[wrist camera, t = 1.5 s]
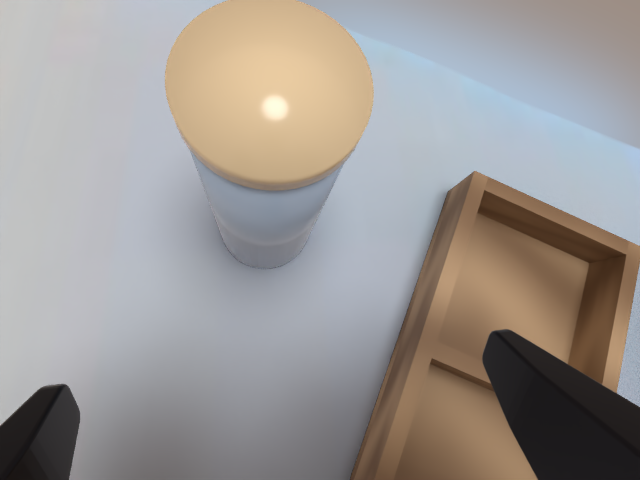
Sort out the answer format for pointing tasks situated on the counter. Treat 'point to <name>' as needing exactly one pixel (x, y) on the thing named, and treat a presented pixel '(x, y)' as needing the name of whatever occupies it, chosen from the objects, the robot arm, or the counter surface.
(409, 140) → the counter surface
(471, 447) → the caddy
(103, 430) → the counter surface
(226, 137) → the jar
